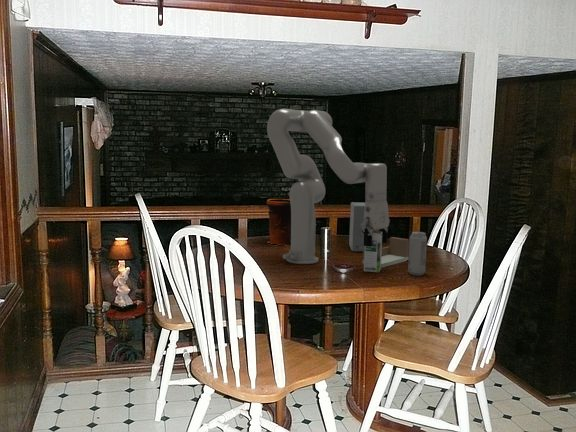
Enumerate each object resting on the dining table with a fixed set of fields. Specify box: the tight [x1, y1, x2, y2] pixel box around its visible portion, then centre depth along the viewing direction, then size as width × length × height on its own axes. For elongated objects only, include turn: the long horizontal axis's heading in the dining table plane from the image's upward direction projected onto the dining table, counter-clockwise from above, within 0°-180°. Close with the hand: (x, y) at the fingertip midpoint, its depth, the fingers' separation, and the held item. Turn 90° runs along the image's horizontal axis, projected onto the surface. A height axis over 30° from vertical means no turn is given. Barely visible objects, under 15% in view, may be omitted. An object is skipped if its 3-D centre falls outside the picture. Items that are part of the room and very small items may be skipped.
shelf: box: [361, 236, 410, 269], centre depth 217 cm, size 19×9×8 cm, turn 137°
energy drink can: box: [407, 231, 428, 276], centre depth 198 cm, size 6×6×15 cm
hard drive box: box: [348, 201, 369, 252], centre depth 243 cm, size 16×8×20 cm, turn 179°
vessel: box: [266, 198, 291, 246], centre depth 253 cm, size 14×14×20 cm
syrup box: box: [363, 230, 383, 273], centre depth 202 cm, size 6×6×14 cm
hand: (375, 244), depth 201 cm, fingers open, 9 cm apart
